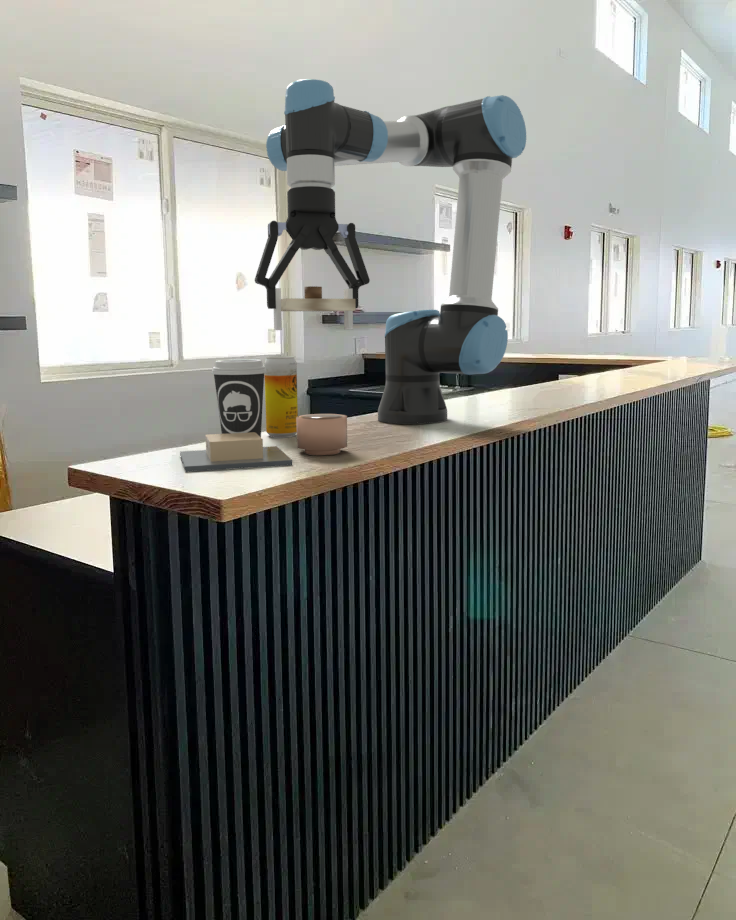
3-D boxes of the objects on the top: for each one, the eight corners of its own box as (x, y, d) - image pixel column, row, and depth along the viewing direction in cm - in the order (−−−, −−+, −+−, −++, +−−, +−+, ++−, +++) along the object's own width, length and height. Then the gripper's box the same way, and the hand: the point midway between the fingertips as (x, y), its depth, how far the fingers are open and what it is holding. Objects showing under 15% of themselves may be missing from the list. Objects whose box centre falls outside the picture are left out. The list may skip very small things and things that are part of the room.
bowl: (340, 446, 137) (339, 412, 135) (353, 454, 129) (352, 418, 128) (292, 449, 134) (291, 414, 133) (302, 457, 126) (301, 420, 125)
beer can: (293, 438, 147) (290, 357, 144) (262, 437, 148) (259, 357, 145) (302, 433, 153) (300, 356, 150) (272, 433, 154) (269, 356, 151)
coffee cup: (280, 445, 139) (277, 360, 136) (235, 452, 132) (232, 362, 129) (247, 440, 145) (244, 358, 142) (203, 446, 138) (199, 361, 136)
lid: (338, 311, 133) (337, 288, 133) (355, 310, 123) (355, 285, 122) (273, 311, 130) (273, 287, 130) (286, 310, 120) (285, 284, 119)
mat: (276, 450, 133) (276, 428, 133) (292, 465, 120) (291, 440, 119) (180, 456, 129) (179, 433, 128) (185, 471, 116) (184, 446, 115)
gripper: (375, 194, 130) (375, 328, 134) (233, 189, 124) (238, 330, 127) (389, 187, 123) (389, 329, 127) (239, 181, 117) (244, 330, 120)
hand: (313, 329), depth 127 cm, fingers closed on lid, 11 cm apart
